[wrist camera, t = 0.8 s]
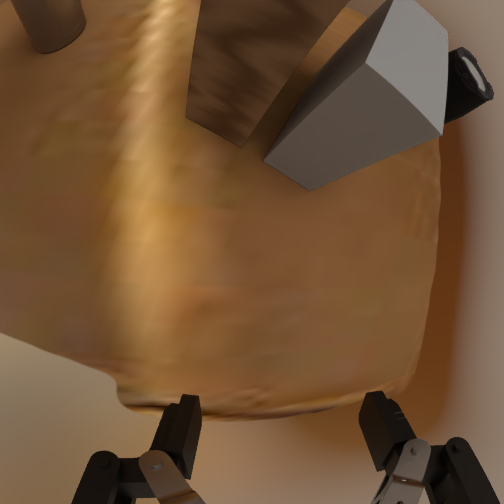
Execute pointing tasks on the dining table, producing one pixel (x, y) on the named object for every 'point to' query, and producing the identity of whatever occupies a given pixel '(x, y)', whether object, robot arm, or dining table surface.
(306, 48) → the walnut pedestal
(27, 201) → the dining table surface
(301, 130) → the grey stand
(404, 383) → the dining table surface
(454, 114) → the portable speaker
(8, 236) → the dining table surface
